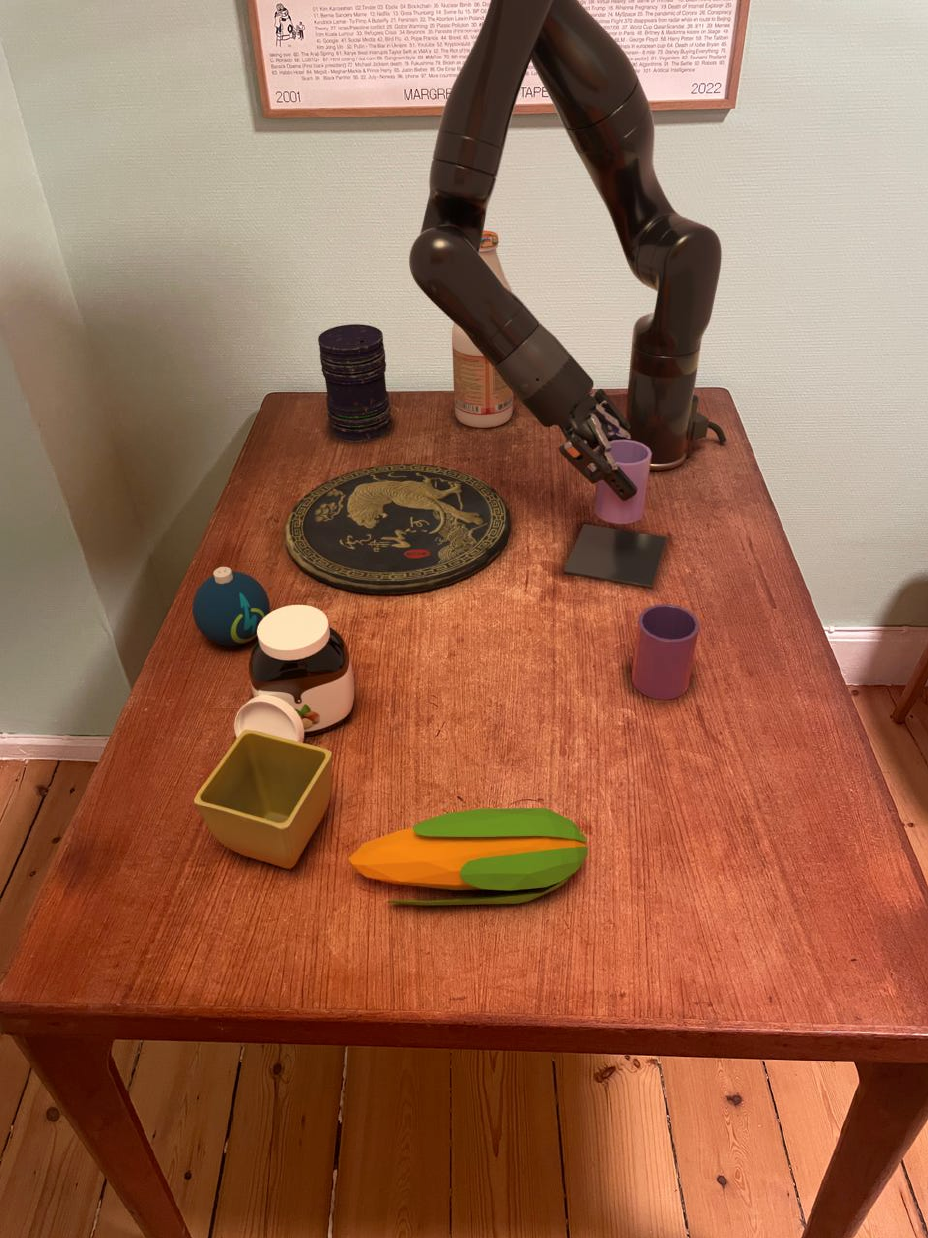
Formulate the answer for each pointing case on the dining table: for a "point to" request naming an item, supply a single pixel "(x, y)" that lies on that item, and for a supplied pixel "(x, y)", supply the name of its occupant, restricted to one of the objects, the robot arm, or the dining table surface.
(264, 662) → the spread jar
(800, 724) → the dining table surface
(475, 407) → the fruit juice
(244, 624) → the christmas ornament
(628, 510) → the lilac cup
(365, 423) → the dark purple cylinder
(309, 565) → the decorative plate
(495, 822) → the corn
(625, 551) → the coaster
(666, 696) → the plum cup
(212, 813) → the flower pot
